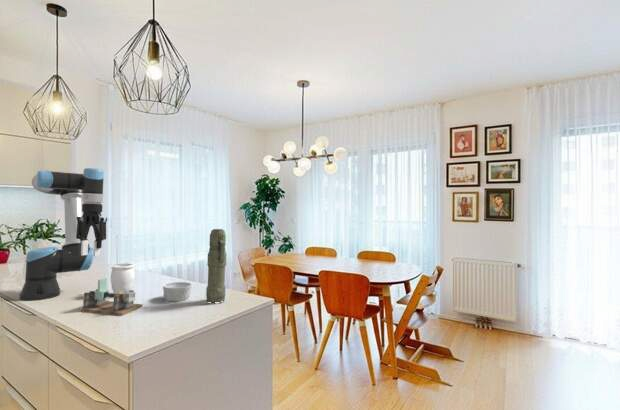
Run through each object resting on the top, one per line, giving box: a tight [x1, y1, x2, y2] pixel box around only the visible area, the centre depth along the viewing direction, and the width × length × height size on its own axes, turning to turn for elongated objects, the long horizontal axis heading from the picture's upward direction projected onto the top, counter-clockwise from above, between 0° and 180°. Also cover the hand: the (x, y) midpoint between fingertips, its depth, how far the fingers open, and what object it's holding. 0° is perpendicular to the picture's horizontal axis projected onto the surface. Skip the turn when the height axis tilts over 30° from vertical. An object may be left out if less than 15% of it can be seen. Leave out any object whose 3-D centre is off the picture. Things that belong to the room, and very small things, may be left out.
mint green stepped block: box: [94, 277, 110, 300], centre depth 141 cm, size 4×4×9 cm
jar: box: [110, 263, 136, 294], centre depth 163 cm, size 11×10×15 cm
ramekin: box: [162, 281, 193, 303], centre depth 159 cm, size 13×13×7 cm
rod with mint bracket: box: [80, 288, 143, 317], centre depth 140 cm, size 20×12×8 cm, turn 80°
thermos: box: [205, 228, 227, 303], centre depth 156 cm, size 9×12×35 cm
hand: (90, 255), depth 142 cm, fingers open, 6 cm apart
